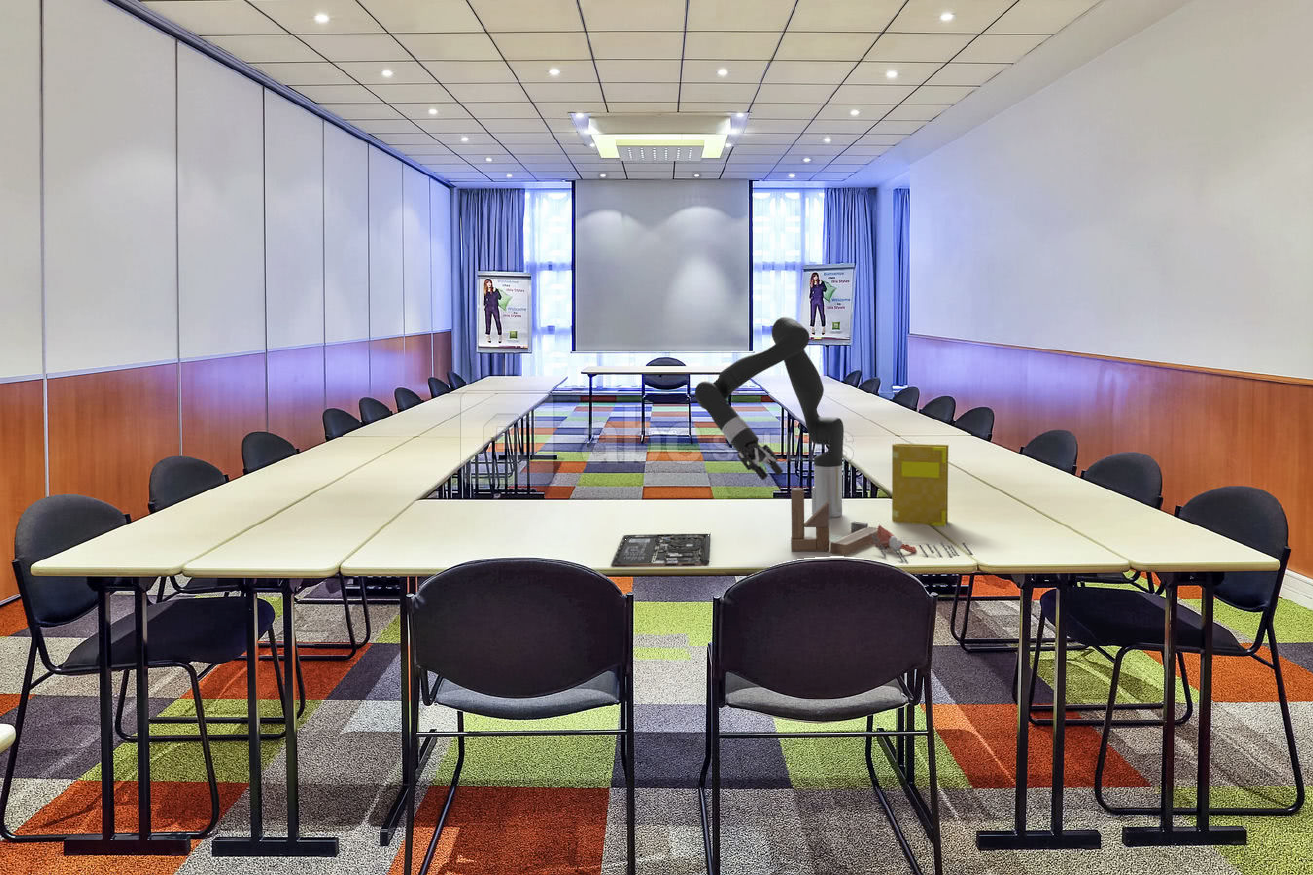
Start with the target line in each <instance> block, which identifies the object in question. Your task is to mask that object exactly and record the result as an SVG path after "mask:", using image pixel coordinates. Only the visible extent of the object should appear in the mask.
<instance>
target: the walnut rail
mask: <svg viewBox="0 0 1313 875" xmlns="http://www.w3.org/2000/svg"><path fill="white" fill-rule="evenodd" d="M850 531H851V532H850V533H849V534H847V535H845V537H842V538H840V539H838V540H835V541H833V542H831V543H830V542H829V552H830V554H836V555H843V556H848V555H850V554H853V553H854V552H857V551H859V550H861V549H863V548H865V547H868V546H869V545H871V544H874V543H875V542H874V540H873V538H872V537H871V535H870V534H869V533H871V534H872V535H873V537H875V540H876V536H877V531H878V527H877V526H876V527H874V526H869V523H867V522H861V521H860V522H859V521H852V522H851V523H850ZM873 533H875V534H876V536H874V534H873Z"/></svg>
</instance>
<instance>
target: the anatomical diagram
mask: <svg viewBox="0 0 1313 875" xmlns="http://www.w3.org/2000/svg"><path fill="white" fill-rule="evenodd" d="M877 528H878V531H877V536H876V534H875V533H873V534H874V536H876V540H875V537H873V535H872V534H871V533H869V534H870V535H871V537H872V538H873V540H874V543H875V547H877V548H878V549H879V550H880V552H881V555H883V557H884V558H885V559H887V558H888V557H887V554H885V553H884V552H887V550H886V548H887V547H889V548H891V549H892V550H893V551H894V552H895V553H896V555H897V557H898V558H899V559H900V560H901V562H902V563H906V564H909V561H908V559H906V558H905V556H904V555H903V552H901V550H903V551H906V552H908V553H913V554H914V553H916V552H917V548H916V547H915V546H914V543H913V542H918V540H920V539H922V540H924V538H921V537H920V538H918V537H917V538H915V539H916V540H914V539H913V542H911V541H907V538H901V539H898V537H897V536H896V535H894V534H893V533H892V532H890V531H889V530H888V529H886V528H884V527H883V526H882V525H881V524H879V525H877ZM917 539H918V540H917ZM936 540H937V542H939V544H936V543H935V544H934V543H933V544H932V547H931V545H930V543H927V542H931V541H929V540H928V541H927V540H925V542H923V543H922V542H919V544H917V546H918V547H919V548H920V550H921V551H922V553H923V554H924V556H925V557H926V558H928V557H929V555H928V553H927V552H926V550H925V549H924V548H923V545H924V546H926V547H927V548H928V550H929V551H930V552H931V554H935V552H936V553H937V555H938V556H939V557H940V558H943V557H944V556H943V555H942V554H941V553H940V550H939V549H938V548H937V547H936V546H937V545H938V546H939V545H940V546H941V547H942V548H943V549H944V550H945V552H946V553H947V555H948V556H949V557H950V558H954V557H956V556H958V557H959V556H961V555H960V554H958V552H957V550H956V549H955V547H953V545H952V544H951V543H952V542H947V541H946V543H947V544H948V545H947V544H944V543H943V541H940V540H939V539H938V538H936ZM904 541H905V543H904ZM949 544H950V545H949ZM961 544H962V545H963V547H964V548H965V550H967V552H968V554H969V555H970V556H973V555H974V553H972V552H971V550H970V549H969V548H968V547H967V545H966V542H961ZM946 547H947V548H948V549H947V548H946ZM932 548H933V549H932ZM950 552H951V553H950ZM953 556H954V557H953Z"/></svg>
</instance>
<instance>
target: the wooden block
mask: <svg viewBox="0 0 1313 875" xmlns="http://www.w3.org/2000/svg"><path fill="white" fill-rule="evenodd" d="M790 490H791V491H790V495H791V504H790V505H791V537H790V538H791V539H790V541H791V542H790V543H791V544H790V545H791V546H790V548H791V551H792V552H830V542H829V534H830V517H829V502H828V501H827V502H826V503H825V504H824V505H823V506H822V507H821V508H820V509H819V510H818V511H817V512H816V513H815V514H814V515H812V516H810V518H809V519H807V521H806V522H805V490H804V488H802V487H795V488H791V489H790ZM805 528H815V536H814V537H816V538H814V537H813V536H805Z"/></svg>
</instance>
